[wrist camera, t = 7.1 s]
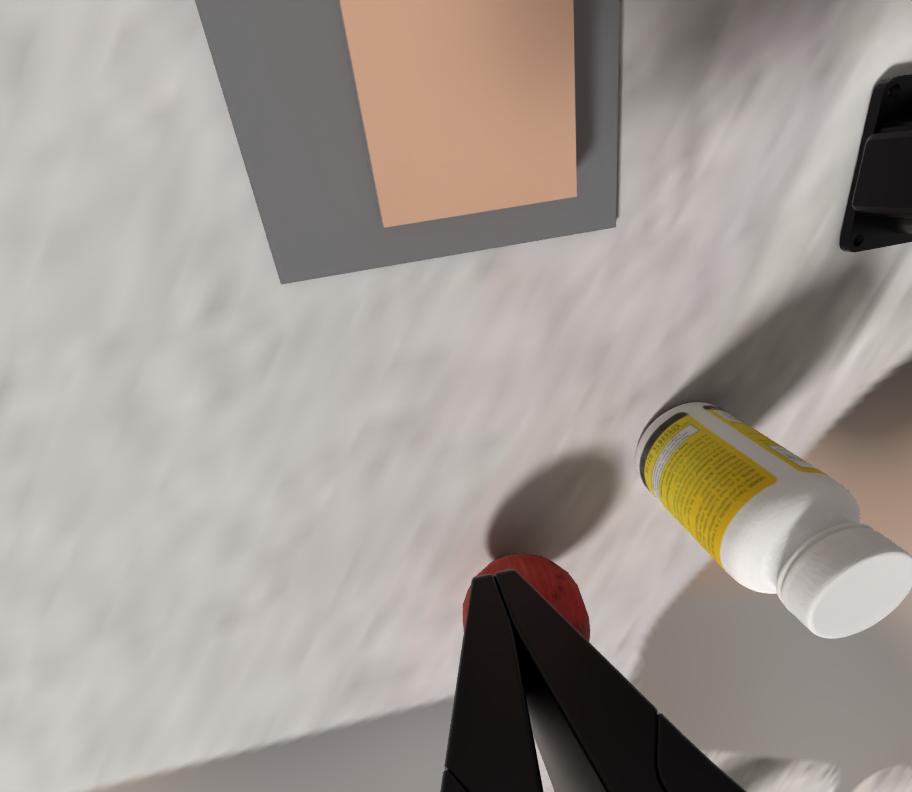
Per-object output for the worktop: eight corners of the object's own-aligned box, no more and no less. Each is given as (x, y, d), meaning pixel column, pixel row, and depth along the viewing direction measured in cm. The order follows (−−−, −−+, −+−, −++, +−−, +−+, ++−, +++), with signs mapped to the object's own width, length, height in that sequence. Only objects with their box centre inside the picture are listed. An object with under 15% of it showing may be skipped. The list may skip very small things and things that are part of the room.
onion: (537, 502, 24) (612, 639, 16) (565, 573, 26) (641, 719, 19) (434, 548, 24) (465, 705, 16) (473, 614, 26) (513, 775, 19)
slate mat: (616, -164, 14) (622, -175, 13) (611, 226, 18) (615, 226, 18) (158, -130, 12) (152, -140, 12) (282, 282, 17) (281, 284, 17)
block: (323, -76, 13) (543, -96, 14) (381, 222, 16) (554, 195, 17) (317, -119, 11) (570, -140, 12) (384, 227, 15) (576, 196, 15)
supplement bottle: (629, 498, 25) (775, 670, 16) (632, 411, 22) (806, 556, 14) (721, 476, 25) (911, 630, 16) (733, 389, 23) (963, 514, 14)
